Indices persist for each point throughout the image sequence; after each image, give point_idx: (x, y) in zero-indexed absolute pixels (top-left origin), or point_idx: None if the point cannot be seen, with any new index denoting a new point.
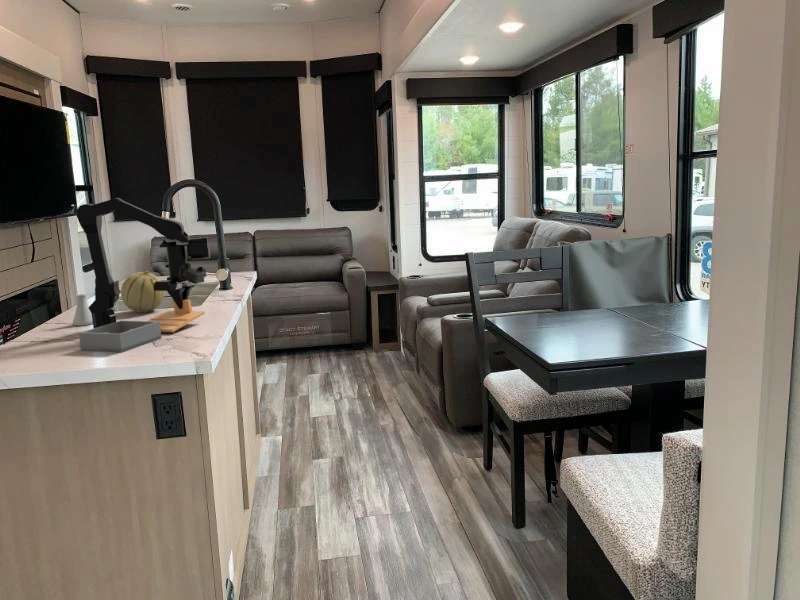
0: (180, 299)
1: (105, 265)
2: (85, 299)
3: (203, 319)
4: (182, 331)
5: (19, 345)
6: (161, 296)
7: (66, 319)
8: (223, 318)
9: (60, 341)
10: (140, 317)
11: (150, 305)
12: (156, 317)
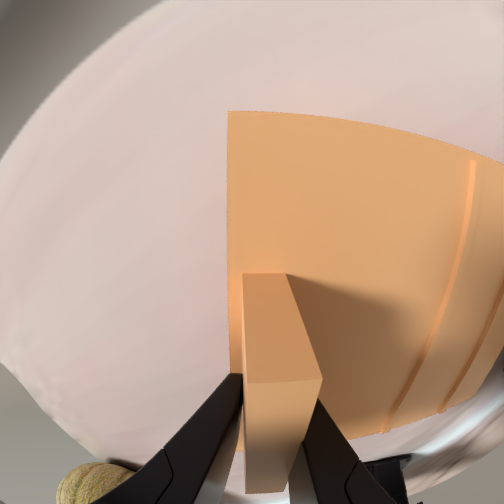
0: (357, 459)
1: None
2: None
3: (138, 225)
4: (496, 161)
5: (463, 466)
6: (84, 480)
7: None
8: (97, 93)
9: (468, 448)
10: None
11: None
12: (363, 427)
